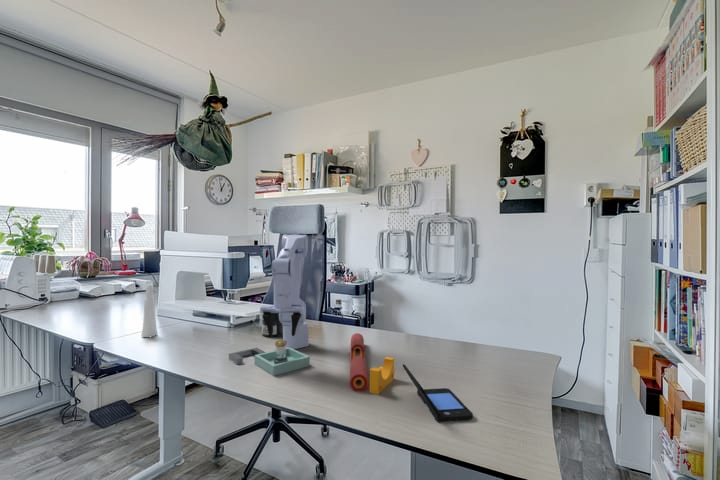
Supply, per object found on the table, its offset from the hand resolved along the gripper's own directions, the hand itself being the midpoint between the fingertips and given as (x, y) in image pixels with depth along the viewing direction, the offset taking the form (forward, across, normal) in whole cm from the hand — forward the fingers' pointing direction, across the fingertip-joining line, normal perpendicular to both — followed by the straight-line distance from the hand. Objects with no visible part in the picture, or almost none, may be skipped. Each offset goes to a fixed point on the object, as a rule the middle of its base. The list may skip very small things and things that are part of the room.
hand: (282, 334), depth 115 cm
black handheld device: (+10, +47, -25) cm, 54 cm away
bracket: (+10, -13, +5) cm, 17 cm away
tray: (+10, 0, 0) cm, 10 cm away
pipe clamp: (+10, +33, -13) cm, 37 cm away
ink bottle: (+10, -14, +35) cm, 39 cm away
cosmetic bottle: (+10, -66, +29) cm, 73 cm away
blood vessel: (+11, +25, +3) cm, 28 cm away
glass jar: (+10, 0, 0) cm, 10 cm away
